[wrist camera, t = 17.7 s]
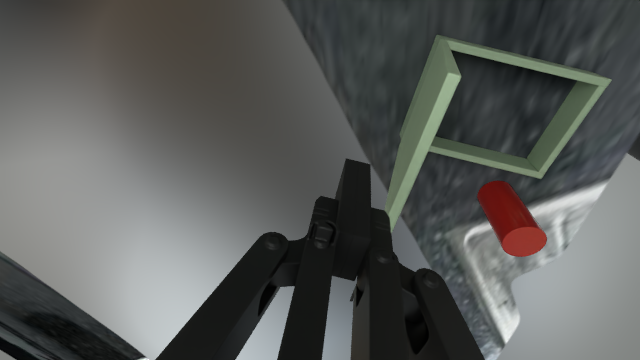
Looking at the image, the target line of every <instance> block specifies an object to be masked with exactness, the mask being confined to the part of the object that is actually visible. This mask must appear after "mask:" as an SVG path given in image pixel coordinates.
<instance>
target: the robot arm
mask: <svg viewBox="0 0 640 360" xmlns="http://www.w3.org/2000/svg"><path fill="white" fill-rule="evenodd" d="M370 180H371V178H370V164H366V163H362V162H358V161H354V160H349V159H346V161H345V164H344V168H343V172H342V175H341V179H340V182H339V186H338V189H337V192H336V197H335V199H331V198H328V197H323V196H320V197H319V198H318V199H317V200H316V202H315V206H314V210H313V214H312V218H311V222H310V226H309V230H308V233H307V235H306V236H305V237H304V238H302V239H299V240H295V241H288V240H287V239H286V237H285V236H283V235H282V234H280V233H276V232H268V233H265V234H263V235H262V236H260V237H259V239H258V240H257V241H256V242H255V243H254V244H253V246H252V247H251V248H250V249H249V250H248V251H247V253H246V254H245V255H244V256H243V257H242V258H241V260H240V261H239V262H238V263H237V264H236V266H235V267H234V268H233V269H232V270H231V271H230V273H229V274H228V275H227V276H226V277H225V279H224V280H223V281H222V282H221V283H220V285H219V286H218V287H217V288H216V289H215V290H214V291H213V293H212V294H211V295H210V296H209V297H208V299H207V300H206V301H205V302H204V303H203V304H202V306H201V307H200V308H199V309H198V310H197V312H196V313H195V314H194V315H193V316H192V317H191V318H190V320H189V321H188V322H187V323H186V324H185V326H184V327H183V328H182V329H181V330H180V331H179V333H178V334H177V335H176V336H175V338H174V339H173V340H172V341H171V342H170V343H169V344H168V346H167V347H166V348H165V349H164V350H163V351H162V353H161V354H160V355H159V356H158V357H157V358H156V360H235V359H236V358H237V356H238V355H239V353H240V351H241V350H242V348H243V346H244V345H245V343H246V341H247V340H248V338H249V337H250V335H251V334H252V332H253V330H254V329H255V327H256V325H257V324H258V322H259V321H260V319H261V317H262V316H263V314H264V313H265V311H266V310H267V308H268V306H269V305H270V303H271V302H272V300H273V298H274V297H275V295H276V293H277V292H278V290H279V289H280V287H286V286H295V288H294V292H293V296H292V301H291V305H290V309H289V313H288V317H287V321H286V326H285V329H284V334H283V338H282V342H281V346H280V351H279V354H278V359H277V360H322V352H323V344H324V336H325V328H326V319H327V311H328V303H329V294H330V287H331V279H332V276H336V277H340V278H344V279H348V280H352V281H355V279H356V276H357V284H356V286H355V289H354V291H353V294H352V296H351V299H350V301H353V298H354V302H353V322H352V344H351V360H485V359H484V357H483V355H482V353H481V351H480V349H479V347H478V345H477V343H476V341H475V340H474V338H473V336H472V334H471V332H470V330H469V328H468V326H467V324H466V322H465V320H464V318H463V316H462V314H461V312H460V310H459V309H458V307H457V305H456V303H455V301H454V299H453V297H452V295H451V293H450V291H449V289H448V287H447V285H446V283H445V281H444V280H443V279H442V277H441V276H440V275H439V274H437V273H436V272H434V271H432V270H430V269H426V268H422V269H419V270H417V271H416V272H414V271H412V270H410V269H408V268H406V267H405V266H403V265H402V264H400V263H399V261H398V258H397V256H396V255H395V253H394V252H393V247H392V236H391V226H390V218H389V216H388V214H387V213H386V211H384V210H379V209H375V208H371V181H370Z"/></svg>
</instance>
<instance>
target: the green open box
mask: <svg viewBox="0 0 640 360" xmlns="http://www.w3.org/2000/svg"><path fill="white" fill-rule="evenodd" d="M440 39H444V40H447V42H448V44H449V47H450V49H451V50H454V51H458V52H462V53H466V54H470V55H474V56H479V57H483V58H487V59H491V60H495V61H499V62H503V63H507V64H512V65H516V66H520V67H524V68H528V69H532V70H536V71H540V72H545V73H549V74H553V75H557V76H561V77H565V78H569V79H573V80H578V81H577V82H576V84H575V85H574V87H573V88H572V90H571V91H570V93H569V94H568V96H567V97H566V99H565V101H564V102H563V104H562V105H561V107H560V108H559V110H558V111H557V113H556V114H555V116H554V117H553V119H552V120H551V122H550V123H549V125H548V126H547V128H546V129H545V131H544V133H543V134H542V136H541V137H540V139H539V140H538V142H537V143H536V145H535V146H534V148H533V149H532V151H531V152H530V154H529V155H528V157H527V159H525V158H521V157H517V156H513V155H509V154H505V153H501V152H497V151H493V150H488V149H484V148H480V147H476V146H472V145H468V144H464V143H460V142H456V141H452V140H448V139H444V138H439V137H434V139H433V142H432V144H431V146H430V148H429V151H430V152H434V153H438V154H442V155H446V156H450V157H454V158H458V159H462V160H466V161H470V162H474V163H479V164H483V165H487V166H491V167H495V168H499V169H503V170H507V171H511V172H515V173H519V174H523V175H528V176H532V177H536V178H540V179H541V178H542V177H543V175H544V174H545V172H546V171H547V170H548V168H549V167H550V165H551V164H552V163H553V161H554V160H555V158H556V157H557V156H558V154H559V153H560V151H561V150H562V149H563V147H564V146H565V144H566V143H567V142H568V140H569V139H570V137H571V136H572V135H573V133H574V132H575V130H576V129H577V128H578V126H579V125H580V123H581V122H582V121H583V119H584V118H585V117H586V115H587V114H588V112H589V111H590V110H591V108H592V107H593V105H594V104H595V103H596V101H597V100H598V98H599V97H600V96H601V94H602V93H603V91H604V90H605V89H606V87H607V86H608V85H609V83H610V82H611V79H608V78H606V77H603V76H600V75H598V74H595V73H592V72H589V71H585V70H581V69H577V68H573V67H568V66H564V65H560V64H556V63H552V62H548V61H544V60H540V59H535V58H531V57H527V56H523V55H519V54H515V53H511V52H506V51H502V50H498V49H494V48H490V47H486V46H482V45H478V44H473V43H469V42H465V41H461V40H457V39H453V38H449V37H444V36H440V35H436V38H435V41H434V43H433V46H432V49H431V51H430V54H429V57H428V59H427V62H426V65H425V67H424V70H423V73H422V75H421V78H420V81H419V83H418V86H417V89H416V91H415V94H414V97H413V99H412V102H411V105H410V107H409V110H408V113H407V115H406V118H405V121H404V123H403V126H402V129H401V131H400V137H401V140H402V137H403V135H404V132H405V129H406V127H407V124H408V122H409V119H410V116H411V114H412V111H413V109H414V106H415V103H416V101H417V98H418V95H419V93H420V90H421V88H422V85H423V82H424V80H425V77H426V75H427V72H428V69H429V67H430V64H431V62H432V59H433V56H434V54H435V51H436V49H437V46H438V43H439V41H440Z"/></svg>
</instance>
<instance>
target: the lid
mask: <svg viewBox="0 0 640 360" xmlns="http://www.w3.org/2000/svg"><path fill="white" fill-rule="evenodd" d="M460 79H461V74H460V72H459V69H458V67H457V64H456V62H455V59H454V57H453V54H452V52H451V49H450V47H449V44H448V42H447V40H444V39H440V41H439V43H438V46H437V49H436V51H435V54H434V56H433V59H432V62H431V64H430V67H429V69H428V72H427V75H426V77H425V80H424V82H423V85H422V88H421V90H420V93H419V95H418V98H417V101H416V103H415V106H414V109H413V111H412V114H411V116H410V119H409V122H408V124H407V127H406V129H405V132H404V135H403V137H402V140H401V142H400V145H399V149H398V154H397V158H396V162H395V166H394V171H393V175H392V179H391V184H390V188H389V192H388V196H387V201H386V205H385V210H384V211H386V213H387V214H388V216H389V218H390V226H391V233H392V231H393V229H394V227H395V224H396V222H397V220H398V218H399V215H400V213H401V211H402V209H403V206H404V204H405V202H406V200H407V198H408V195H409V193H410V191H411V189H412V186H413V184H414V182H415V180H416V177H417V175H418V173H419V171H420V168H421V166H422V164H423V162H424V159H425V157H426V155H427V153H428V151H429V148H430V146H431V144H432V142H433V139H434V137H435V135H436V133H437V130H438V128H439V126H440V124H441V121H442V119H443V117H444V115H445V113H446V110H447V108H448V106H449V104H450V101H451V99H452V97H453V95H454V92H455V90H456V88H457V86H458V83H459V81H460Z"/></svg>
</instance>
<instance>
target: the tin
mask: <svg viewBox="0 0 640 360" xmlns="http://www.w3.org/2000/svg"><path fill="white" fill-rule="evenodd" d="M477 198H478V201H479V203H480V205H481V207H482V209H483V211H484V213H485V215H486V217H487V219H488V221H489V223H490V225H491V227H492V229H493V230H494V232H495V234H496V236H497V238H498V240H499V242H500V244H501V246H502V248H503V250H504V251H505V252H506V253H508V254H510V255H512V256H518V257H523V256H529V255H532V254H534V253H536V252H538V251H540V250H541V249H542V248H543V247H544V246H545V244H546V241H547V237H546V234H545V232H544V231H543V230H542V228H541V227H540V226H539V224H538V223H537V221H536V220H535V219H534V217H533V216H532V214H531V213H530V212H529V210H528V209H527V207H526V206H525V205H524V203H523V202H522V200H521V199H520V198H519V196H518V195H517V193H516V192H515V191H514V189H513V188H512V187H511V185H510V184H508V183H507V182H504V181H493V182H489V183H487V184H485V185H484V186H483V187H482V188H481V189H480V190H479V192H478V195H477Z"/></svg>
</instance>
